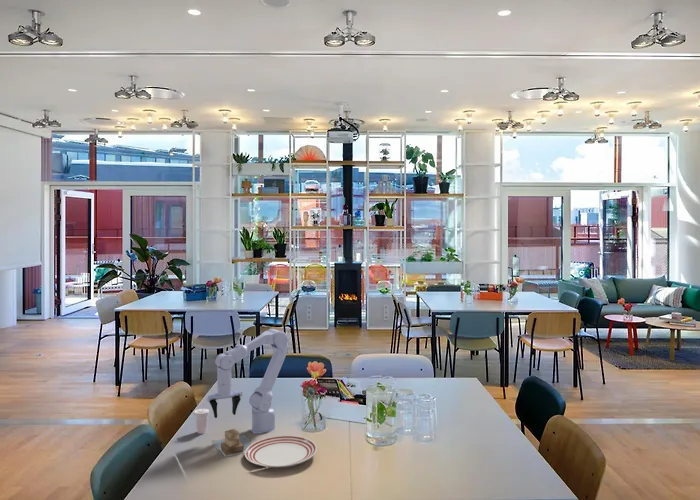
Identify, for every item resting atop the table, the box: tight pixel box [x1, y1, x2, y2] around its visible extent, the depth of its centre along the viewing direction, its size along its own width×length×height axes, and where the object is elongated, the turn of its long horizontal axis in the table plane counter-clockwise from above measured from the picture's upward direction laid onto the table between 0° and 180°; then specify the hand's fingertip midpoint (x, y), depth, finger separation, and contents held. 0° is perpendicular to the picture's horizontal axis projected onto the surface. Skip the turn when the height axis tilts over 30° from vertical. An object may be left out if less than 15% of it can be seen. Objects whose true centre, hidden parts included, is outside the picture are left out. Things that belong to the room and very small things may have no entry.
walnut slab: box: [221, 441, 244, 455], centre depth 208 cm, size 7×7×2 cm
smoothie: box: [193, 400, 210, 435], centre depth 227 cm, size 6×6×14 cm
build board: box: [211, 434, 253, 459], centre depth 212 cm, size 14×18×1 cm
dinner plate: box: [244, 434, 318, 469], centre depth 202 cm, size 28×27×3 cm
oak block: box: [224, 428, 240, 447], centre depth 208 cm, size 4×4×5 cm
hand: (224, 415), depth 220 cm, fingers open, 7 cm apart
